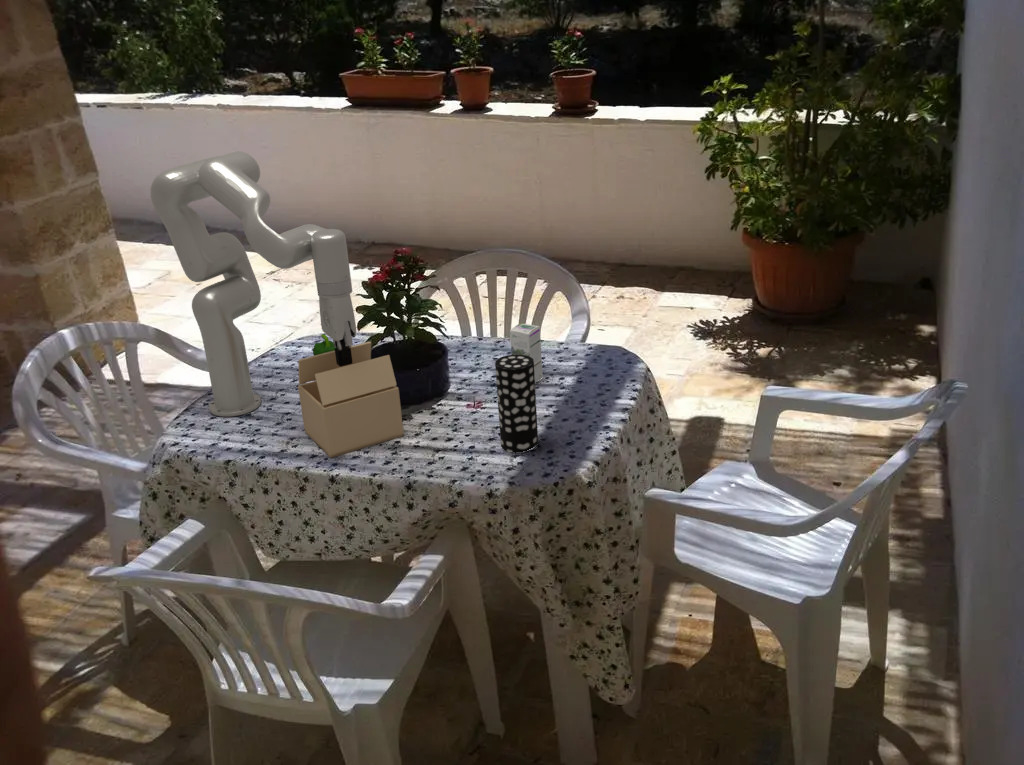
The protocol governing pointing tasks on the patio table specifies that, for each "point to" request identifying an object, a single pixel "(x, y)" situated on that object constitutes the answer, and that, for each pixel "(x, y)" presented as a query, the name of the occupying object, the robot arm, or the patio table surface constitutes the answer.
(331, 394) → the cardboard box flap
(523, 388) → the spotted tube
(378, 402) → the carton
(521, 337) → the syrup box
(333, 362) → the flap
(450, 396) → the patio table surface
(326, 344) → the bell pepper
